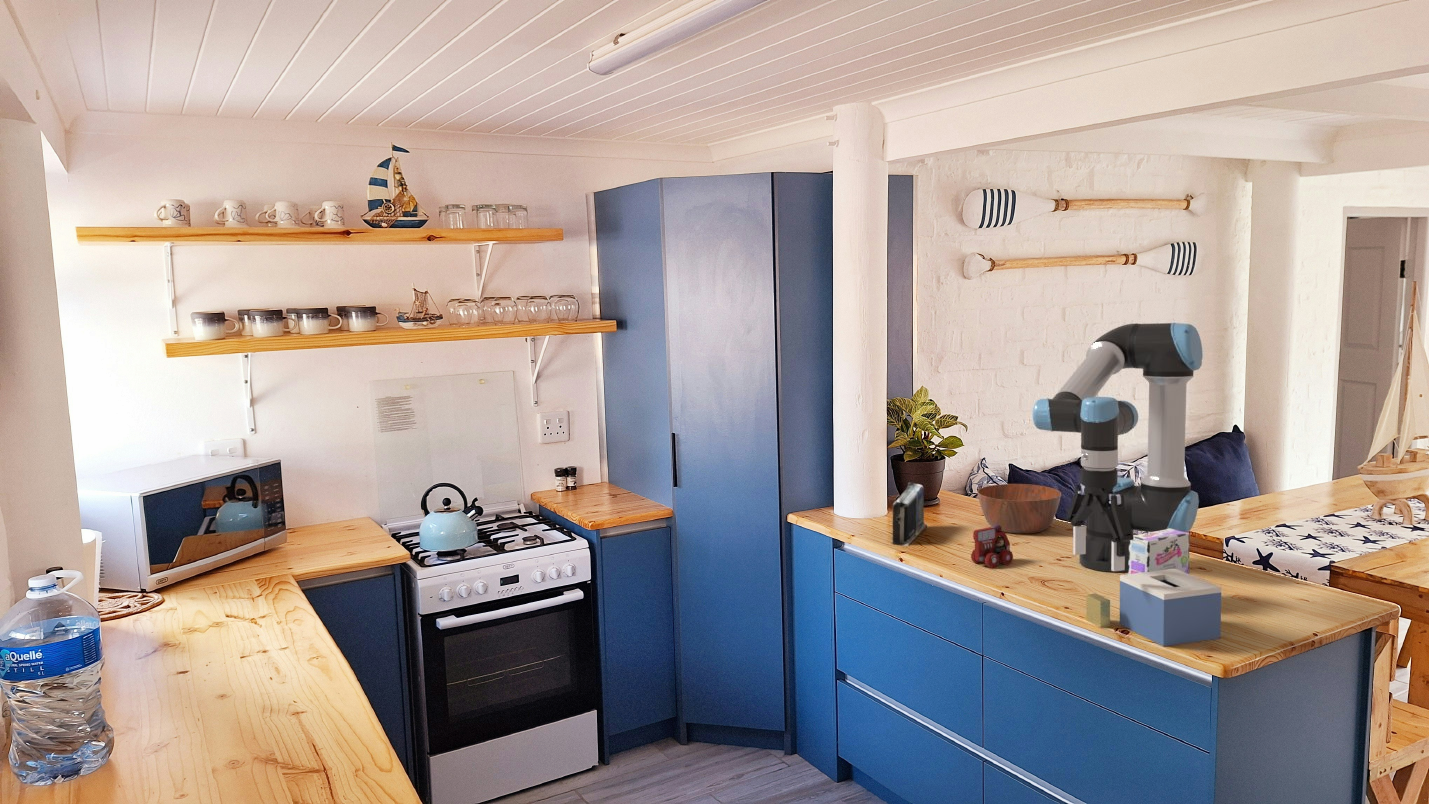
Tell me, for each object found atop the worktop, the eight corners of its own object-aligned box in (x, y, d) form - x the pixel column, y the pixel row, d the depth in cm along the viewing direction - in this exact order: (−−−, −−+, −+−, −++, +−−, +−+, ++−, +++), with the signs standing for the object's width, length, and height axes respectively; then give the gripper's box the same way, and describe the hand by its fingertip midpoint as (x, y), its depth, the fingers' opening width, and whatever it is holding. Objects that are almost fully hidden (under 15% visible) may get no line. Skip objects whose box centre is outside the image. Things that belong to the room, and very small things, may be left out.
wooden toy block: (1086, 620, 211) (1086, 594, 210) (1095, 619, 211) (1095, 593, 211) (1100, 627, 206) (1100, 601, 205) (1109, 626, 207) (1110, 600, 206)
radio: (906, 547, 276) (905, 498, 274) (879, 544, 280) (878, 495, 279) (933, 529, 295) (932, 483, 293) (907, 526, 300) (906, 481, 298)
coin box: (1119, 623, 208) (1119, 575, 206) (1173, 616, 211) (1174, 568, 210) (1163, 646, 194) (1164, 594, 193) (1220, 638, 197) (1221, 586, 196)
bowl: (1069, 522, 296) (1069, 487, 295) (1050, 541, 276) (1050, 503, 274) (990, 515, 310) (990, 481, 309) (967, 533, 289) (966, 496, 288)
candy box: (1147, 609, 216) (1148, 540, 214) (1126, 602, 221) (1127, 534, 220) (1189, 599, 222) (1191, 532, 220) (1168, 592, 227) (1169, 526, 225)
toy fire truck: (1018, 562, 256) (1018, 525, 255) (984, 570, 251) (984, 532, 250) (999, 556, 263) (999, 520, 261) (966, 564, 257) (966, 527, 256)
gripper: (1050, 459, 216) (1050, 549, 218) (1121, 479, 192) (1119, 579, 194) (1079, 457, 218) (1078, 546, 220) (1152, 476, 194) (1151, 575, 196)
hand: (1098, 562), depth 207 cm, fingers open, 13 cm apart
